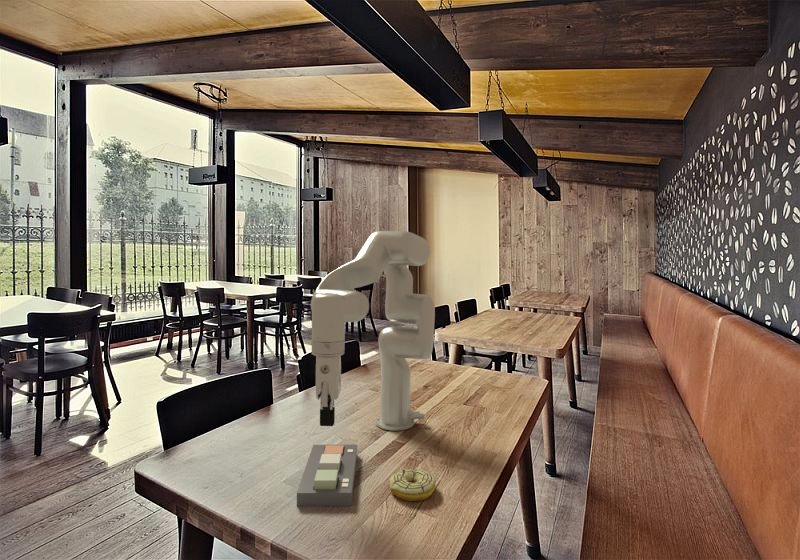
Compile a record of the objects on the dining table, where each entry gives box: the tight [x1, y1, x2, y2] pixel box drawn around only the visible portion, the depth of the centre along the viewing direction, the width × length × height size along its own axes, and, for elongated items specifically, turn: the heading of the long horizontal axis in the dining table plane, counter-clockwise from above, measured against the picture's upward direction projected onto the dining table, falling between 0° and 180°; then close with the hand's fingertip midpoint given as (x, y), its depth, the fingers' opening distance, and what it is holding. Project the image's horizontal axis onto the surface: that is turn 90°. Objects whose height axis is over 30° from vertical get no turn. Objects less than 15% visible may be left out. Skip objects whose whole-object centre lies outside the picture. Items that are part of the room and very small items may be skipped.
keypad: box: [296, 444, 358, 507], centre depth 112 cm, size 12×24×3 cm, turn 2°
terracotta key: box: [324, 444, 345, 456], centre depth 120 cm, size 5×5×3 cm
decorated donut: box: [389, 468, 436, 502], centre depth 107 cm, size 10×11×4 cm
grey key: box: [319, 454, 341, 472], centre depth 112 cm, size 5×5×3 cm
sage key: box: [314, 470, 338, 490], centre depth 104 cm, size 5×5×3 cm
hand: (327, 424), depth 105 cm, fingers closed
